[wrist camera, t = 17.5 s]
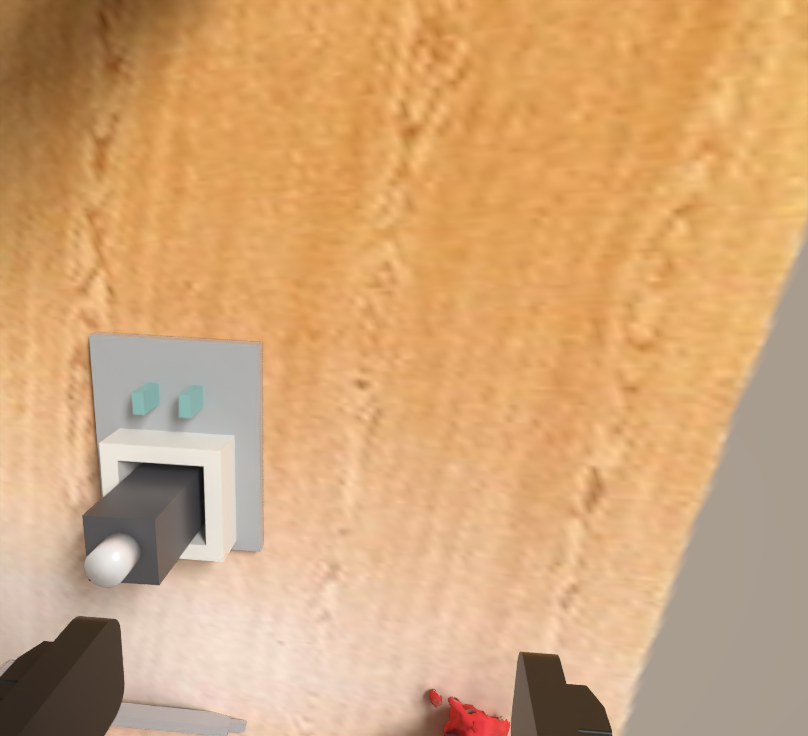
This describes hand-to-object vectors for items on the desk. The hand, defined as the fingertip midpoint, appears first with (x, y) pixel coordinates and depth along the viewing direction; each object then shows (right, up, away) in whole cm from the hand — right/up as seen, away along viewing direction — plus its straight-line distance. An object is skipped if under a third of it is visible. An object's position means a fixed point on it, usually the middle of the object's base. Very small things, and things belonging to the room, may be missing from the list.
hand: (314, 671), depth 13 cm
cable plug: (-15, -3, +35) cm, 38 cm away
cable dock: (-15, +1, +35) cm, 38 cm away
